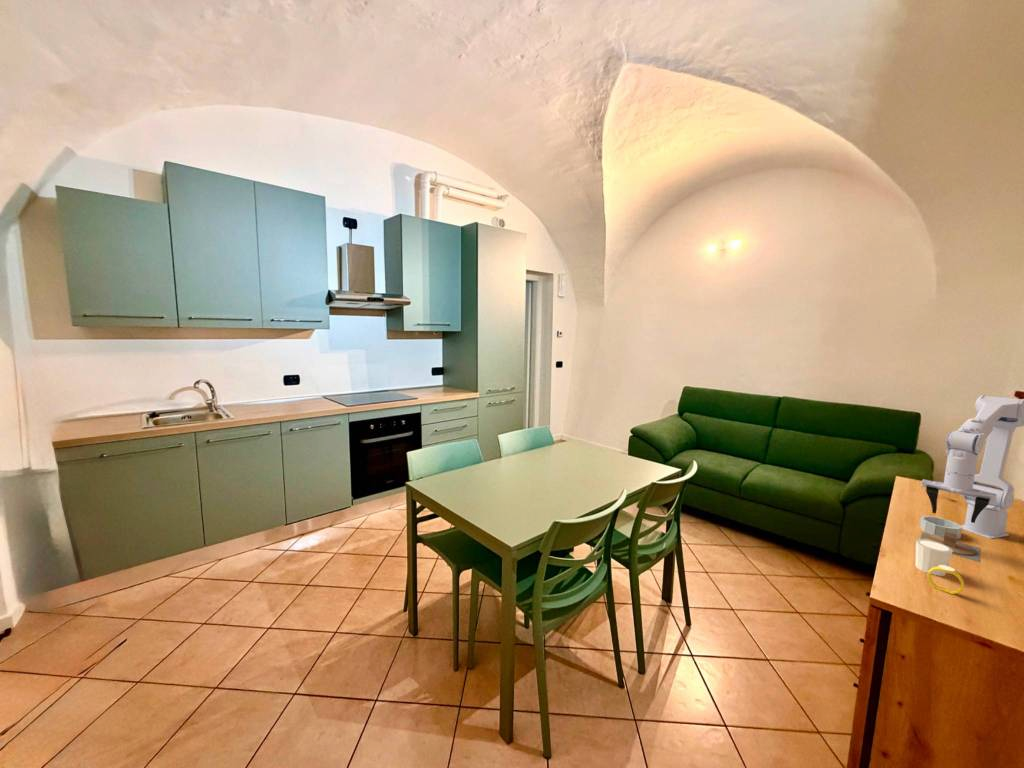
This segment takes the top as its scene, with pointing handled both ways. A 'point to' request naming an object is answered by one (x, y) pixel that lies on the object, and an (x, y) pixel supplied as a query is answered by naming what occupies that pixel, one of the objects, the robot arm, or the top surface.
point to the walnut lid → (953, 544)
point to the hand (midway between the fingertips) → (953, 516)
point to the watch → (947, 570)
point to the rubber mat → (973, 557)
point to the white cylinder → (932, 555)
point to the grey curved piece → (939, 526)
